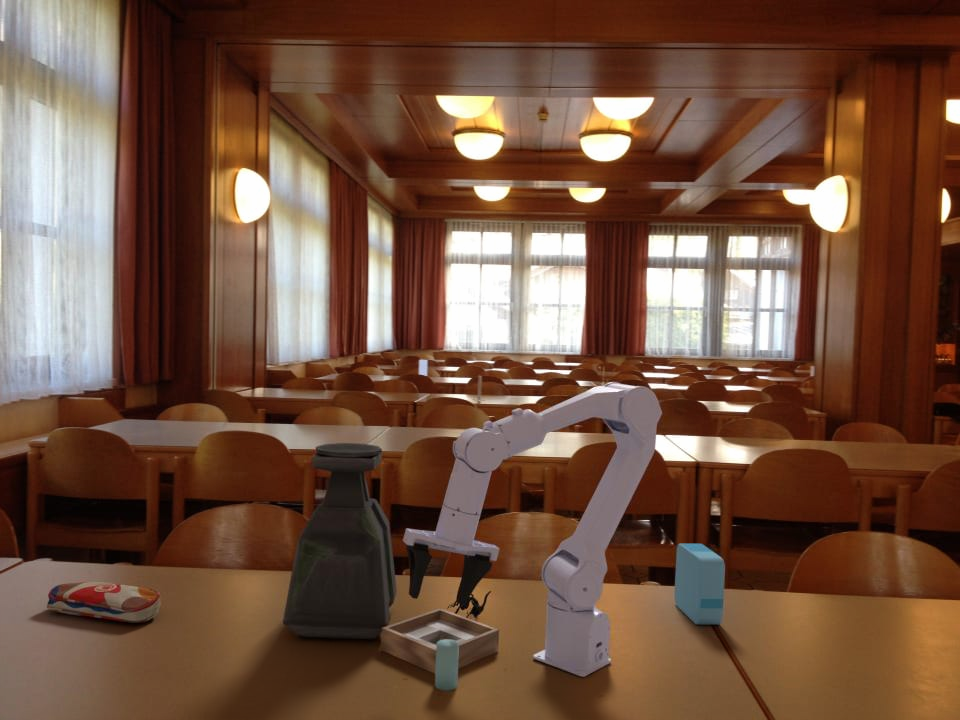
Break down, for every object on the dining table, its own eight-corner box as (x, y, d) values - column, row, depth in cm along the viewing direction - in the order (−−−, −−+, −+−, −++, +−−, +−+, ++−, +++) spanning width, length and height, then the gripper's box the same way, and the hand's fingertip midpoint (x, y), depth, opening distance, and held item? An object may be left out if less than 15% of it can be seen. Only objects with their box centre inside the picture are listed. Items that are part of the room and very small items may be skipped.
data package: (722, 627, 140) (726, 559, 139) (697, 627, 139) (701, 559, 139) (696, 603, 151) (699, 541, 151) (673, 603, 151) (676, 541, 150)
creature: (435, 624, 139) (470, 625, 134) (431, 593, 139) (466, 593, 135) (463, 612, 145) (497, 613, 140) (459, 582, 146) (493, 583, 141)
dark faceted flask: (385, 647, 125) (392, 458, 124) (281, 643, 125) (286, 454, 124) (396, 607, 143) (402, 442, 142) (305, 604, 143) (310, 438, 142)
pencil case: (111, 638, 125) (112, 607, 124) (36, 613, 134) (37, 583, 134) (169, 618, 134) (170, 588, 134) (96, 595, 144) (96, 568, 144)
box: (498, 651, 125) (499, 629, 125) (440, 676, 115) (441, 652, 115) (439, 628, 134) (439, 608, 133) (381, 650, 124) (381, 627, 124)
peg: (462, 685, 113) (463, 643, 112) (446, 692, 110) (448, 650, 110) (445, 678, 115) (447, 637, 115) (430, 685, 112) (431, 643, 112)
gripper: (425, 506, 110) (399, 602, 109) (516, 525, 115) (491, 616, 115) (409, 495, 116) (384, 585, 115) (496, 513, 122) (473, 599, 121)
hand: (436, 600), depth 115 cm, fingers open, 7 cm apart
